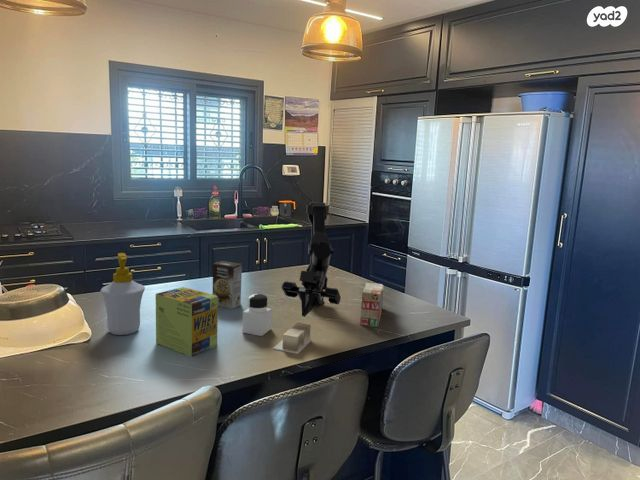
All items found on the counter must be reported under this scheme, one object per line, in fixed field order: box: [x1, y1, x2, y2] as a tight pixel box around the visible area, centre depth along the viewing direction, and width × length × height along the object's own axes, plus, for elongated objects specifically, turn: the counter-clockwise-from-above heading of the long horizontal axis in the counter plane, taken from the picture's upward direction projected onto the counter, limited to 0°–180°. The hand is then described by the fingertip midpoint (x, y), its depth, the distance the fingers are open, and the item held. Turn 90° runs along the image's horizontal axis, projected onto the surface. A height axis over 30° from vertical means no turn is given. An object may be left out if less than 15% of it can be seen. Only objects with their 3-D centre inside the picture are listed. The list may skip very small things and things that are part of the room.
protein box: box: [155, 286, 219, 357], centre depth 139 cm, size 10×15×16 cm
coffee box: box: [212, 260, 243, 310], centre depth 176 cm, size 9×6×16 cm
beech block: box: [282, 322, 312, 352], centre depth 144 cm, size 4×4×11 cm
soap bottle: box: [100, 252, 146, 336], centre depth 146 cm, size 13×13×25 cm
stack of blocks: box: [359, 282, 385, 328], centre depth 172 cm, size 21×6×12 cm, turn 169°
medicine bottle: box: [242, 293, 273, 337], centre depth 153 cm, size 7×7×12 cm
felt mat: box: [272, 338, 312, 355], centre depth 144 cm, size 11×8×1 cm
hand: (303, 315), depth 147 cm, fingers closed
